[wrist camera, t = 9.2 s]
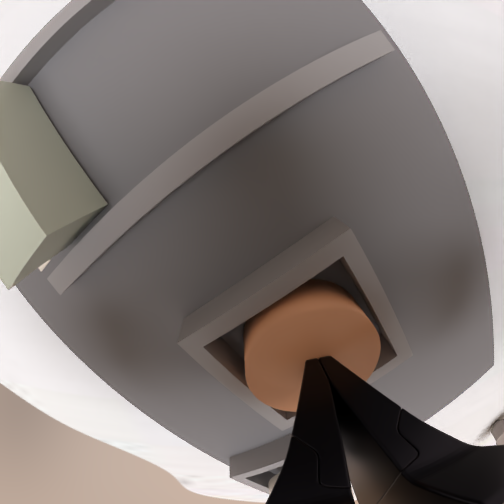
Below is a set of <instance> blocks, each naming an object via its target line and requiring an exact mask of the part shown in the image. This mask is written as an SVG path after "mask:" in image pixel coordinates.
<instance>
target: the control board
mask: <svg viewBox="0 0 504 504" xmlns="http://www.w3.org/2000/svg"><path fill="white" fill-rule="evenodd" d="M0 81H5V82H11V83H16V84H21V85H26V86H30V88H31V90H32V91H33V93H34V95H35V96H36V98H37V100H38V102H39V103H40V105H41V107H42V108H43V110H44V112H45V113H46V115H47V116H48V118H49V120H50V121H51V123H52V124H53V126H54V128H55V129H56V131H57V132H58V134H59V135H60V137H61V138H62V140H63V141H64V143H65V144H66V146H67V147H68V149H69V150H70V152H71V153H72V155H73V156H74V158H75V159H76V161H77V162H78V164H79V165H80V166H81V168H82V169H83V171H84V172H85V173H86V175H87V176H88V178H89V179H90V180H91V182H92V183H93V185H94V186H95V187H96V189H97V190H98V191H99V193H100V194H101V195H102V197H103V198H104V199H105V201H106V202H107V203H108V205H107V206H106V207H105V208H104V209H103V210H102V211H101V212H100V213H99V214H98V215H97V216H96V217H95V218H94V219H93V220H92V221H91V222H90V223H89V224H88V225H87V226H86V227H85V228H84V229H83V231H82V232H81V233H80V234H79V235H78V236H77V237H76V238H75V239H74V240H73V241H72V243H71V244H70V245H69V246H68V247H67V248H65V249H64V250H62V251H61V252H59V253H58V254H56V255H55V256H54V257H52V258H51V259H49V260H48V261H47V262H45V263H44V264H42V265H41V266H40V267H38V268H37V269H36V270H34V271H33V272H31V273H30V274H29V275H27V276H26V277H25V278H24V279H22V280H21V281H20V282H18V283H17V284H16V287H17V288H18V289H19V291H20V292H21V293H22V295H23V296H24V297H25V298H26V300H27V301H28V302H29V304H30V305H31V306H32V307H33V308H34V310H35V311H36V312H37V313H38V314H39V316H40V317H41V318H42V319H43V320H44V321H45V323H46V324H47V325H48V326H49V327H50V328H51V329H52V331H53V332H54V333H55V334H56V335H57V336H58V337H59V338H60V339H61V340H62V341H63V342H64V343H65V344H66V345H67V346H68V347H69V349H70V350H71V351H72V352H73V353H74V354H75V355H76V356H78V357H79V358H80V359H81V360H82V361H83V362H84V363H85V364H86V365H87V366H88V367H89V368H90V369H91V370H92V371H93V372H94V373H96V374H97V375H98V376H99V377H100V378H101V379H102V380H103V381H105V382H106V383H107V384H108V385H109V386H110V387H112V388H113V389H114V390H115V391H116V392H118V393H119V394H120V395H121V396H122V397H124V398H125V399H126V400H127V401H129V402H130V403H131V404H133V405H134V406H135V407H137V408H138V409H139V410H140V411H142V412H143V413H145V414H146V415H147V416H149V417H150V418H151V419H153V420H154V421H156V422H157V423H158V424H160V425H161V426H163V427H164V428H166V429H167V430H169V431H170V432H172V433H173V434H175V435H176V436H178V437H180V438H181V439H183V440H184V441H186V442H188V443H189V444H191V445H192V446H194V447H196V448H197V449H199V450H201V451H203V452H204V453H206V454H208V455H210V456H211V457H213V458H215V459H217V460H219V461H221V462H223V463H224V464H226V465H228V466H230V478H232V479H234V480H236V481H239V482H241V483H243V484H245V485H248V486H250V487H253V488H255V489H258V490H260V491H263V492H265V493H268V494H269V486H268V483H269V481H270V479H271V478H272V477H274V476H275V475H277V474H279V473H280V471H281V469H282V466H283V464H284V461H285V458H286V454H287V451H288V447H289V443H290V438H291V434H292V430H293V425H294V420H295V415H296V412H290V411H283V410H279V409H275V408H273V407H270V406H268V405H266V404H264V403H263V402H261V401H260V400H258V399H257V398H256V397H255V396H254V395H253V393H252V392H251V391H250V389H249V387H248V385H247V381H246V377H245V360H244V342H243V332H244V326H245V322H246V320H248V319H250V318H251V317H253V316H254V315H256V314H258V313H259V312H261V311H262V310H264V309H265V308H267V307H269V306H270V305H272V304H273V303H275V302H276V301H278V300H279V299H281V298H282V297H284V296H285V295H287V294H289V293H290V292H292V291H293V290H295V289H296V288H298V287H299V286H301V285H302V284H304V283H305V282H307V281H308V280H309V279H318V280H325V281H329V282H332V283H335V284H337V285H339V286H341V287H342V288H344V289H345V290H347V291H348V292H349V293H350V294H351V295H352V297H353V298H354V299H355V301H356V302H357V303H358V305H359V306H360V307H361V309H362V310H363V312H364V313H365V314H366V316H367V317H368V318H369V320H370V321H371V322H372V324H373V325H374V327H375V328H376V330H377V332H378V334H379V337H380V343H381V350H380V356H379V360H378V363H377V365H376V367H375V369H374V371H373V373H372V374H371V376H370V377H369V378H368V380H367V381H366V382H367V383H368V384H370V385H371V386H372V387H374V388H375V389H377V390H378V391H379V392H381V393H382V394H384V395H385V396H386V397H388V398H389V399H390V400H392V401H393V402H395V403H396V404H398V405H399V406H400V407H401V409H402V408H403V409H405V410H406V411H408V412H409V413H410V414H412V415H414V416H415V417H417V418H418V419H420V420H421V421H423V422H424V421H426V420H427V419H429V418H430V417H432V416H433V415H434V414H436V413H437V412H439V411H440V410H441V409H443V408H444V407H445V406H447V405H448V404H449V403H451V402H452V401H453V400H454V399H456V398H457V397H458V396H459V395H461V394H462V393H463V392H464V391H466V390H467V389H468V388H469V387H470V386H471V385H473V384H474V383H475V382H476V381H477V380H478V379H479V378H480V377H482V376H483V375H484V374H485V373H486V372H487V371H488V370H489V369H490V368H491V367H492V366H493V365H494V338H493V319H492V306H491V297H490V288H489V281H488V274H487V268H486V262H485V257H484V252H483V247H482V242H481V237H480V233H479V229H478V225H477V221H476V217H475V213H474V210H473V206H472V203H471V199H470V196H469V193H468V190H467V187H466V184H465V181H464V178H463V175H462V172H461V169H460V167H459V164H458V161H457V159H456V156H455V154H454V151H453V149H452V146H451V144H450V142H449V139H448V137H447V135H446V132H445V130H444V128H443V126H442V124H441V122H440V119H439V117H438V115H437V113H436V111H435V109H434V107H433V105H432V103H431V101H430V100H429V98H428V96H427V94H426V92H425V90H424V89H423V87H422V85H421V83H420V82H419V80H418V78H417V76H416V75H415V73H414V71H413V70H412V68H411V67H410V65H409V63H408V62H407V60H406V59H405V57H404V56H403V54H402V53H401V51H400V50H399V48H398V47H397V45H396V44H395V42H394V41H393V40H392V38H391V37H390V35H389V34H388V33H387V31H386V30H385V29H384V27H383V26H382V25H381V23H380V22H379V21H378V20H377V18H376V17H375V16H374V15H373V13H372V12H371V11H370V10H369V9H368V7H367V6H366V5H365V4H364V3H363V1H362V0H72V1H71V2H69V3H68V4H67V5H66V6H65V7H64V8H63V9H62V10H61V11H60V12H59V13H57V14H56V15H55V16H54V17H53V18H52V19H51V20H50V21H49V22H48V23H47V24H46V25H45V26H44V27H43V28H42V29H41V30H40V32H39V33H38V34H37V35H36V36H35V37H34V38H33V39H32V40H31V41H30V42H29V44H28V45H27V46H26V47H25V48H24V49H23V51H22V52H21V53H20V54H19V55H18V57H17V58H16V59H15V60H14V62H13V63H12V64H11V65H10V67H9V68H8V69H7V71H6V72H5V73H4V75H3V76H2V78H1V79H0Z"/></svg>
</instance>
